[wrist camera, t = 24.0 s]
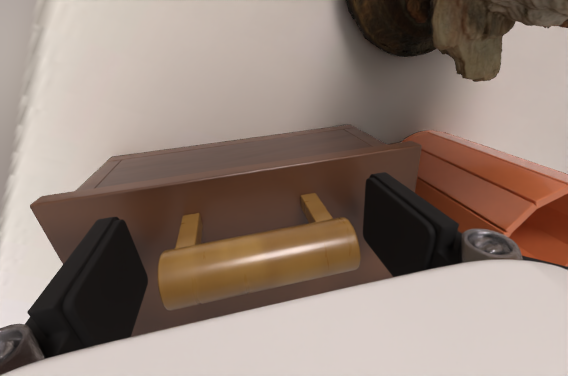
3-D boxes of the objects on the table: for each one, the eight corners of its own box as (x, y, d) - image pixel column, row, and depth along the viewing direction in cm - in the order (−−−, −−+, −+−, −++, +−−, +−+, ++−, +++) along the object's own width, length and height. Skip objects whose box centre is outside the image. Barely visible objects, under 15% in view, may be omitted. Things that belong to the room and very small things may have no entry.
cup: (449, 115, 21) (619, 159, 12) (458, 182, 24) (599, 257, 15) (373, 154, 21) (486, 226, 12) (392, 215, 24) (493, 310, 15)
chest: (111, 156, 17) (50, 213, 11) (350, 124, 19) (409, 156, 13) (176, 325, 24) (161, 416, 18) (345, 286, 26) (382, 355, 20)
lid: (40, 195, 11) (-90, 295, 6) (412, 139, 13) (511, 183, 8) (161, 417, 18) (142, 535, 14) (383, 356, 20) (428, 440, 16)
